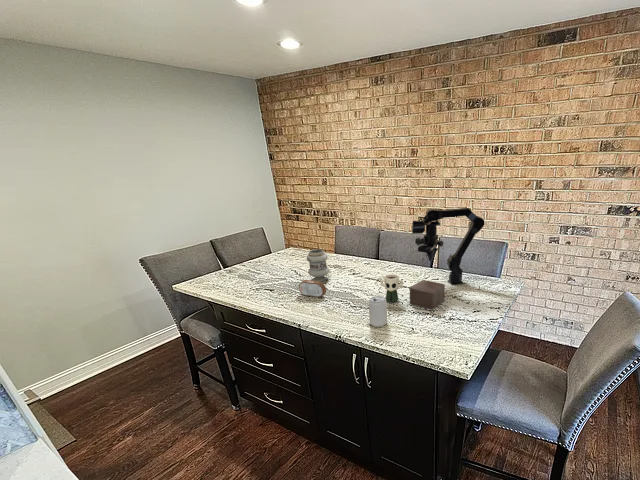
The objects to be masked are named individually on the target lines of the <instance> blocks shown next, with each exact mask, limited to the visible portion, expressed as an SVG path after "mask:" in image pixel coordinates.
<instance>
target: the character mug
mask: <svg viewBox="0 0 640 480" xmlns="http://www.w3.org/2000/svg"><path fill="white" fill-rule="evenodd" d="M383 282H384V283H383ZM403 285H404V282H403V279H400V277H399V275H398V274H395V273H394V274H393V273H392V274H391V273H390V274H389V273H388V274H386V275H384V278H383V279H380V286H381V287H384V289H385V290H386V294H385V300H386V303H391V302H392V303H396V302H398V301H399V295H398V289H399V288H400V287H403Z"/></svg>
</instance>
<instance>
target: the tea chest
mask: <svg viewBox="0 0 640 480" xmlns="http://www.w3.org/2000/svg"><path fill="white" fill-rule="evenodd" d="M445 292H446V285H445V286H444V287H442V288H441V289H439V290H438V291H436V292H435V293H433V294H428V293H423V292H419V291H414V290H410V289H409V304H410V305H414V306H417V307H422V308H427V309H430V310H433V309H435V308H436V307H437V306H439V305H440V304H442V303H443V302H444V301H445Z"/></svg>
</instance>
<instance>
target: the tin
mask: <svg viewBox="0 0 640 480" xmlns="http://www.w3.org/2000/svg"><path fill="white" fill-rule="evenodd" d="M298 290H299V291H300V293H301V294H302V295H303V296H306V297H313V298H322V297H324V296H325V295H326V294H327V287H326V285H325V284H324V282H323V283H321V282H319V281H312V279H303V280H302V281H301V282H300V283H299V284H298Z"/></svg>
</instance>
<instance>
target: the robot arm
mask: <svg viewBox="0 0 640 480" xmlns="http://www.w3.org/2000/svg"><path fill="white" fill-rule="evenodd" d="M456 217H466V218H467V219H468V220H469V221H470V222H469V224H468V229H467V231H466V233H465V235H464V237H463V238H462V239H461V242H460V244H459V245H458V247H457V249H456V251H455V253H453V254H451V253H450V254H449V256H448V258H447V259H446V266H447V268H448V269H449V274H448V280H447V282H448V283H450V284H451V285H453V286H454V285H463V284H464V281H463V272H464V271H463V269H462V267H461V263H462V259H463V256H464V255H465V253H466V251H467V249H468V248H469V246H470V245H471V243H472V241H473V240H474V238H475V236H476V235H477V234H478V233H479V232H480V231H481V230H482V229H483V227H484V226H485V225H486V223H485V220H484V218H483V217H481V216H479V215H476V214H475V213H474V212H473V211H472V210H471V209H470V208H469V207H467V206H466V207H461V208H451V209H450V208H449V209H439V208H428V209H427V210H426V211H425V216H424V217H423V218H422V219H421V220H412V225H411V233H412V235H415V234H419V235H421V234H422V235H423V234H424V233H425V234H424V236H423V237H416V238H415V240H414V241H415V242H414V243H415V245H417V246H418V247H417V252H419V253H425V254H426V255H427V258H428V261H429V262H433V260H434V258H435V256H436V254H437V252H438V250H439V248H438V247H437V246H439V247H444V241H443V240H439V239H437V238H438V237H439V234H437V231H438V230H437V227H438V226H441V222H439V220H442V219H446V218H456Z"/></svg>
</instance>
